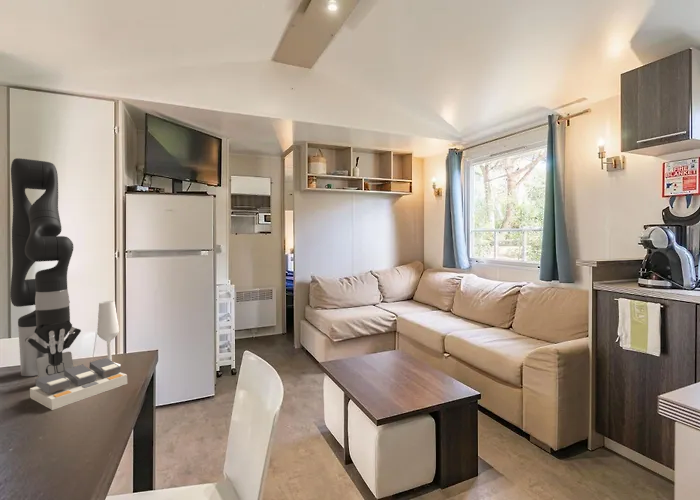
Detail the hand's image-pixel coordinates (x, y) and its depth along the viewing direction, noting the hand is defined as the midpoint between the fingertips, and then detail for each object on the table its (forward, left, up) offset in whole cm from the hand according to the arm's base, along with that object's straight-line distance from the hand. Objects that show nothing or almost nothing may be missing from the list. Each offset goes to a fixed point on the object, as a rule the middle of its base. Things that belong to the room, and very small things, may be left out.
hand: (55, 365), depth 104 cm
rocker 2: (-3, +14, -6) cm, 15 cm away
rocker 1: (-3, 0, -6) cm, 6 cm away
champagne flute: (-17, +22, -11) cm, 30 cm away
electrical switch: (-19, +6, -11) cm, 23 cm away
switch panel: (-3, +7, -11) cm, 13 cm away
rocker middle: (-3, +7, -6) cm, 10 cm away
